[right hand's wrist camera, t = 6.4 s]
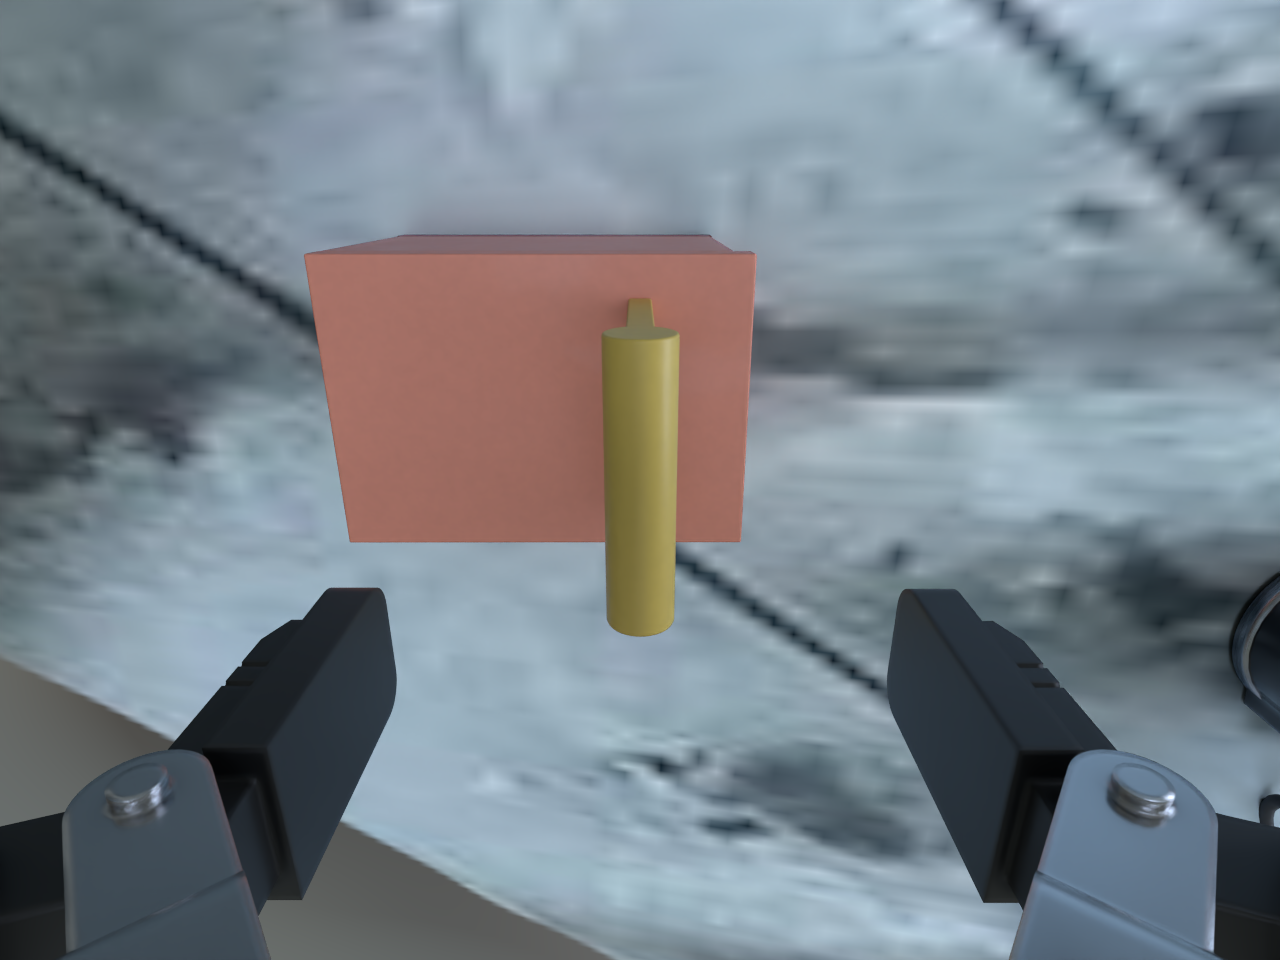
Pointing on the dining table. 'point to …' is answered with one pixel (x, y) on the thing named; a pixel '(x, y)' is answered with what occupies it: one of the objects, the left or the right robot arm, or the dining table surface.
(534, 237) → the chest
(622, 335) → the block with yellow handle
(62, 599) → the dining table surface
